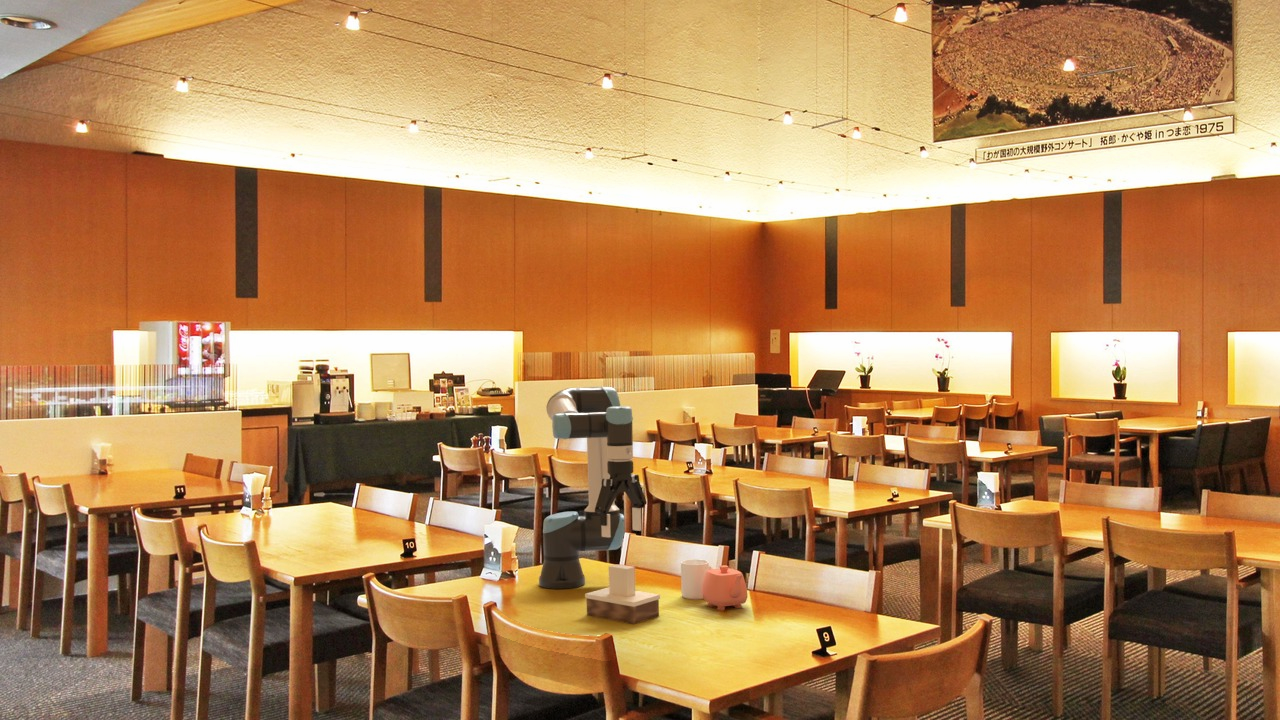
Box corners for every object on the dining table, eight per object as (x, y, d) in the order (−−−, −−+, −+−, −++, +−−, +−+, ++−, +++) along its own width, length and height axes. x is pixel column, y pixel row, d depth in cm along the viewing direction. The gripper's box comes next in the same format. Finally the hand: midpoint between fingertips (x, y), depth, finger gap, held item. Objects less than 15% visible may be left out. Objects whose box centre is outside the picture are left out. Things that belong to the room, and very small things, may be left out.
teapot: (692, 602, 322) (691, 562, 322) (726, 597, 327) (725, 558, 327) (725, 616, 304) (724, 574, 304) (761, 611, 309) (760, 570, 309)
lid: (585, 603, 309) (584, 566, 309) (611, 595, 318) (611, 559, 318) (633, 612, 297) (633, 573, 297) (660, 604, 306) (659, 566, 306)
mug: (723, 595, 331) (722, 560, 331) (693, 601, 324) (692, 565, 324) (706, 590, 338) (705, 556, 338) (676, 596, 331) (675, 561, 331)
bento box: (586, 615, 309) (586, 597, 309) (612, 607, 317) (611, 590, 317) (634, 624, 297) (633, 606, 297) (658, 616, 306) (658, 598, 306)
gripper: (600, 464, 295) (602, 541, 295) (657, 456, 314) (659, 528, 315) (581, 463, 300) (582, 538, 300) (638, 455, 319) (639, 526, 319)
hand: (621, 533), depth 307 cm, fingers open, 13 cm apart
